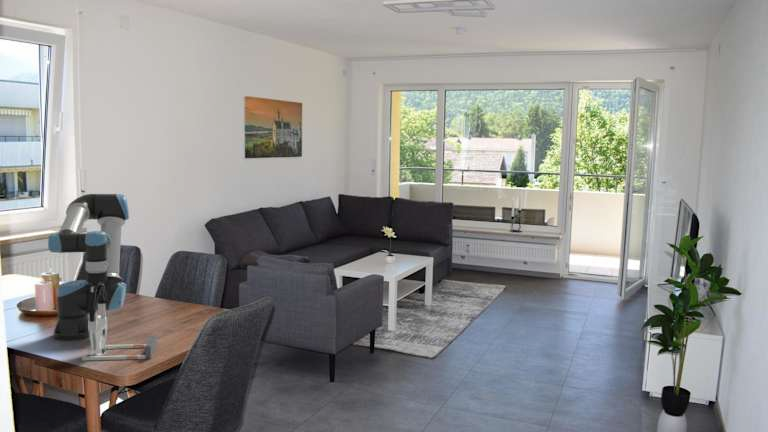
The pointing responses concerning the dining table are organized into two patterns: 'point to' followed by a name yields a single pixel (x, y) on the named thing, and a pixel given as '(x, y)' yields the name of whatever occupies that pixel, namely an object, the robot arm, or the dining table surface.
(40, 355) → the dining table surface
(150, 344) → the guide track
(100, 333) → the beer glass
